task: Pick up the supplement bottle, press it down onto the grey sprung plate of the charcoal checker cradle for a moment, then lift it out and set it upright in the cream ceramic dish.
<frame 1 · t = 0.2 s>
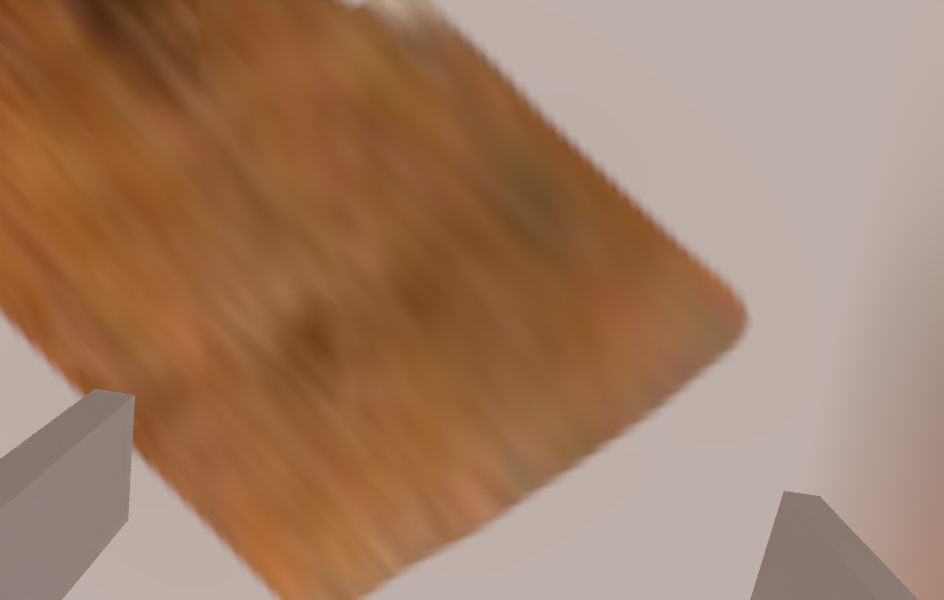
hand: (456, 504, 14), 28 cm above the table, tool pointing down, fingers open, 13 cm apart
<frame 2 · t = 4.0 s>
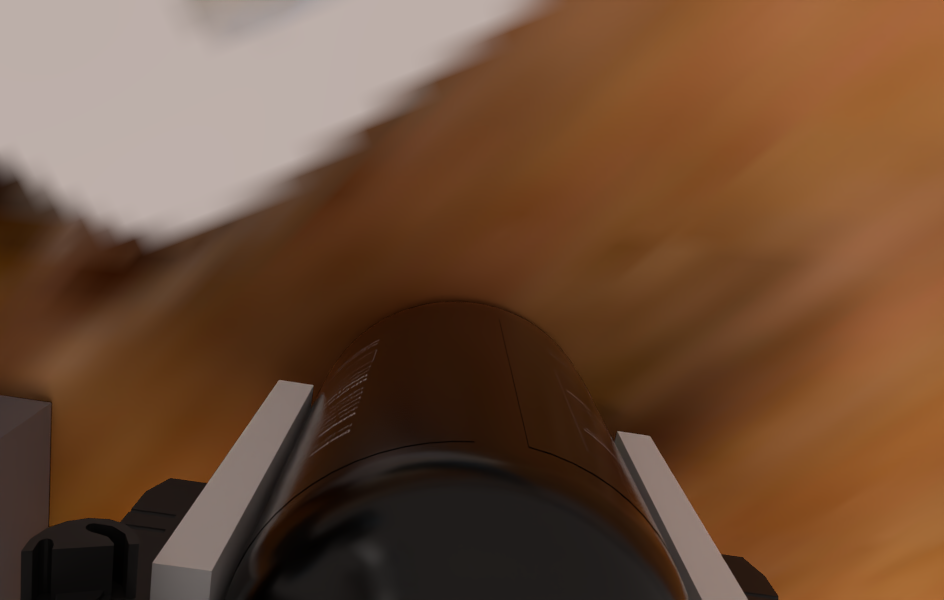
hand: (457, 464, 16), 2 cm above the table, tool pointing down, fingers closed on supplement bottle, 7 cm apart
supplement bottle: (457, 421, 18), on the table, touching gripper
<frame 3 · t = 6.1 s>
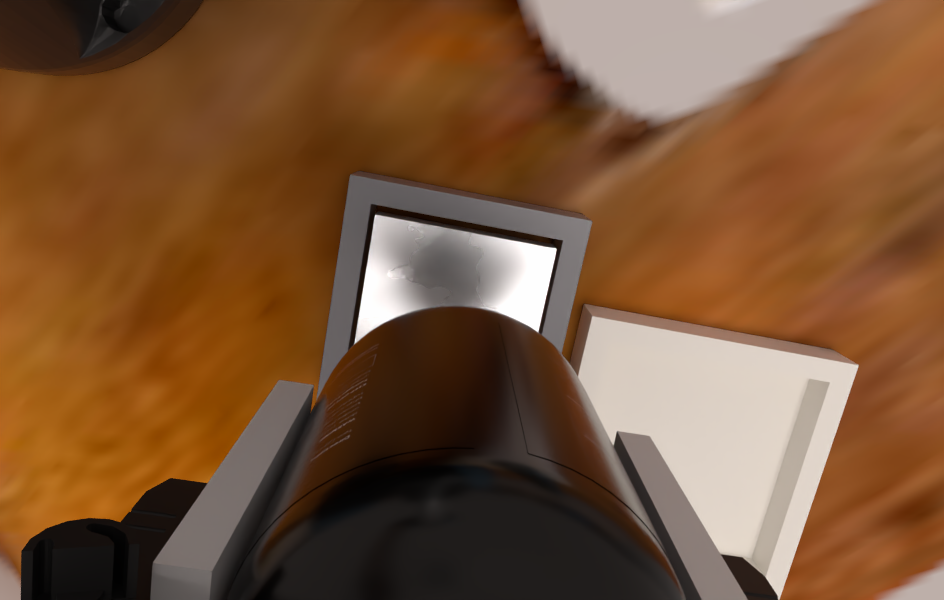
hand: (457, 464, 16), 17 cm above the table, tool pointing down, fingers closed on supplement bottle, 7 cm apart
checker plate: (450, 315, 30), point 3 cm above the table, slide at 0.0 cm, touching checker frame
dish: (676, 444, 34), on the table
supplement bottle: (456, 425, 18), point 15 cm above the table, touching gripper
checker frame: (450, 300, 32), on the table
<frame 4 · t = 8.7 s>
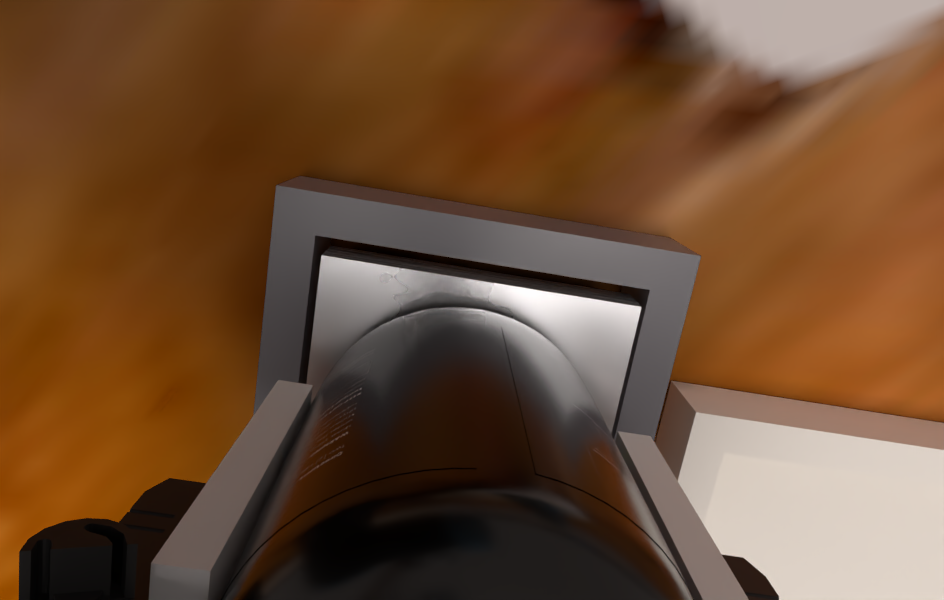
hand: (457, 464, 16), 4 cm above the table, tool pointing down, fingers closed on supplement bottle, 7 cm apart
checker plate: (457, 418, 18), point 3 cm above the table, slide at -0.1 cm, touching checker frame, supplement bottle
dish: (812, 588, 22), on the table
supplement bottle: (456, 431, 17), point 3 cm above the table, touching checker plate, gripper
checker frame: (457, 381, 20), on the table
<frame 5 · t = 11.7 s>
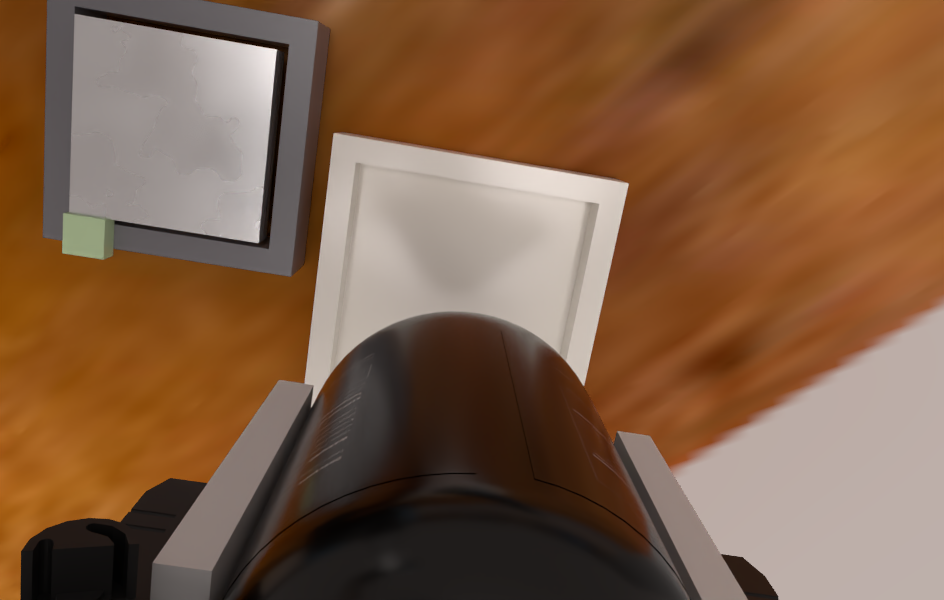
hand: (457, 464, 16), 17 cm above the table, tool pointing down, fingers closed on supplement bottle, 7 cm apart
checker plate: (176, 132, 28), point 2 cm above the table, slide at -0.1 cm, touching checker frame
dish: (458, 289, 32), on the table
supplement bottle: (456, 436, 17), point 15 cm above the table, touching gripper
checker frame: (198, 131, 30), on the table
when the fingers open (4 cm above the table, at t = 14.6 s): supplement bottle drops 2 cm, resting on dish.
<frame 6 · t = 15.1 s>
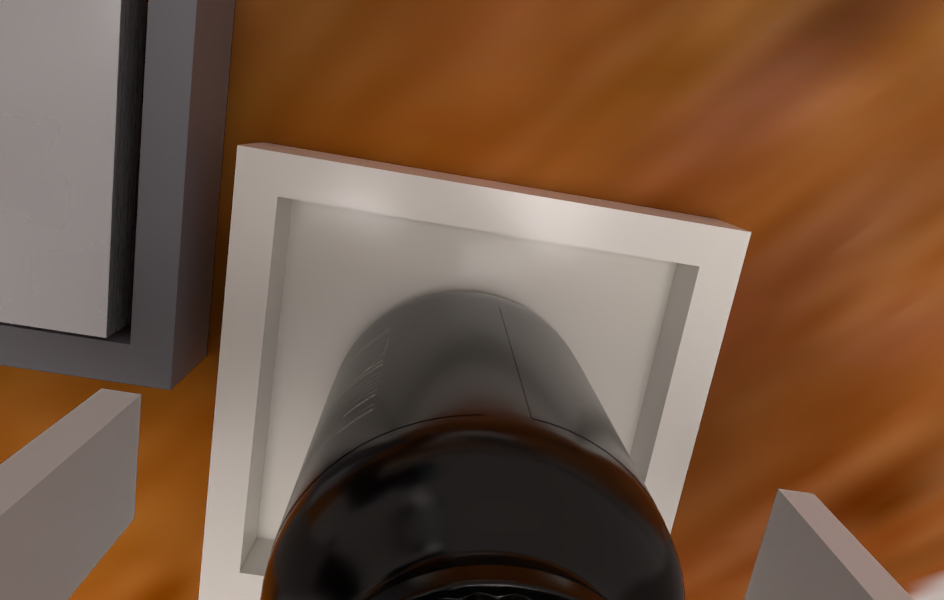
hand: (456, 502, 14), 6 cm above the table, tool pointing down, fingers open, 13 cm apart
dish: (457, 394, 20), on the table
supplement bottle: (462, 403, 19), resting on dish
checker frame: (22, 141, 18), on the table
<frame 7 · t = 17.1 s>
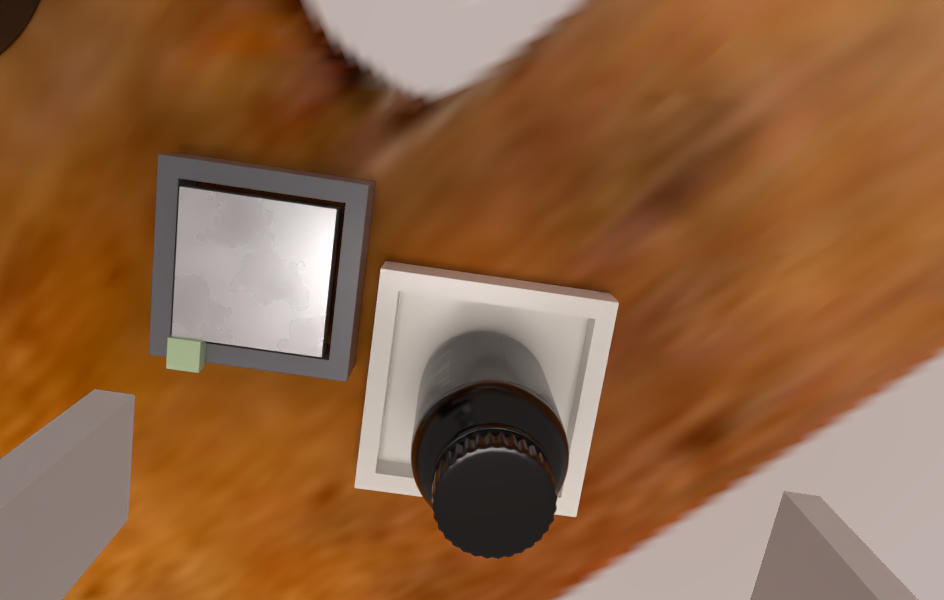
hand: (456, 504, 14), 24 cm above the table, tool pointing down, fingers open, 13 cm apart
checker plate: (256, 271, 35), point 2 cm above the table, slide at -0.1 cm, touching checker frame
dish: (481, 383, 39), on the table
supplement bottle: (484, 387, 38), resting on dish
checker frame: (269, 263, 37), on the table
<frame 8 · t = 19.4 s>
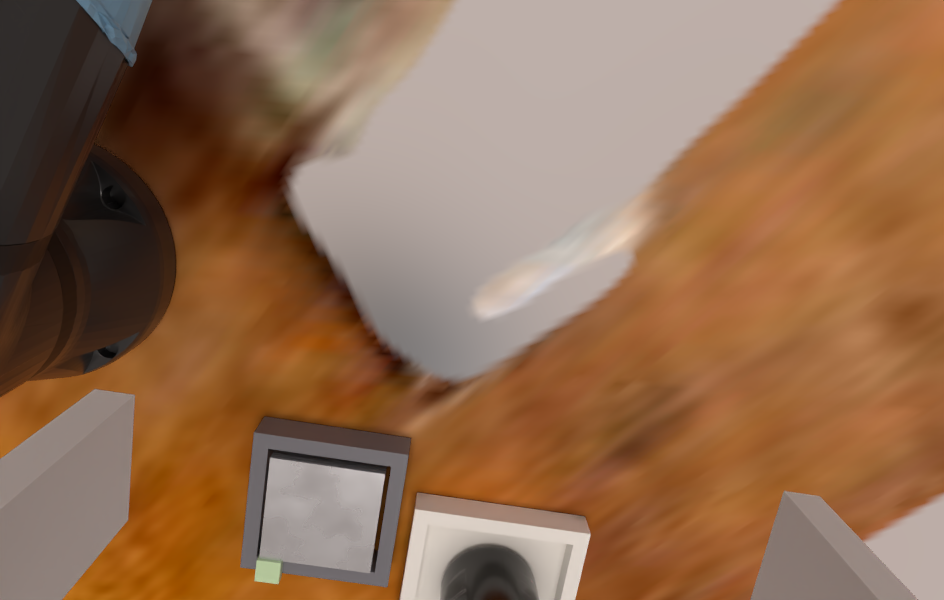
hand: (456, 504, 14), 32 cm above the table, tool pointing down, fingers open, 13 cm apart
checker plate: (322, 511, 47), point 2 cm above the table, slide at -0.1 cm, touching checker frame
dish: (486, 577, 51), on the table
supplement bottle: (488, 582, 51), resting on dish
checker frame: (329, 492, 49), on the table
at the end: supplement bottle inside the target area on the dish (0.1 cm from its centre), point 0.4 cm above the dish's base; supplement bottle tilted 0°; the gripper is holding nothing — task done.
